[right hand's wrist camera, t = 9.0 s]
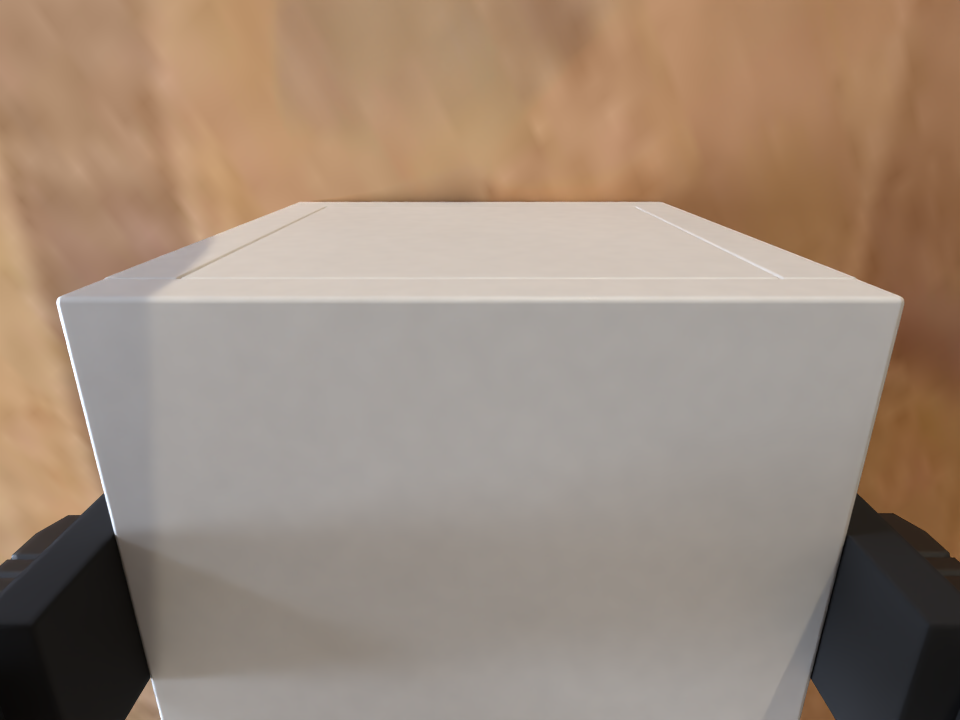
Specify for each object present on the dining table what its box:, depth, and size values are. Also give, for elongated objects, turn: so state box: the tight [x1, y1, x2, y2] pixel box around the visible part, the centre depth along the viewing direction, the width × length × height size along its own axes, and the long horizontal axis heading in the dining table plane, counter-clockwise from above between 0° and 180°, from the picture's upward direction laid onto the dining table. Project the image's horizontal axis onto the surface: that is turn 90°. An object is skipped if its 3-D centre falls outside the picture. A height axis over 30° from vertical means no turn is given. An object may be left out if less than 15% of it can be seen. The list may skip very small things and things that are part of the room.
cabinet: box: [57, 202, 904, 720], centre depth 16 cm, size 22×10×11 cm, turn 0°
